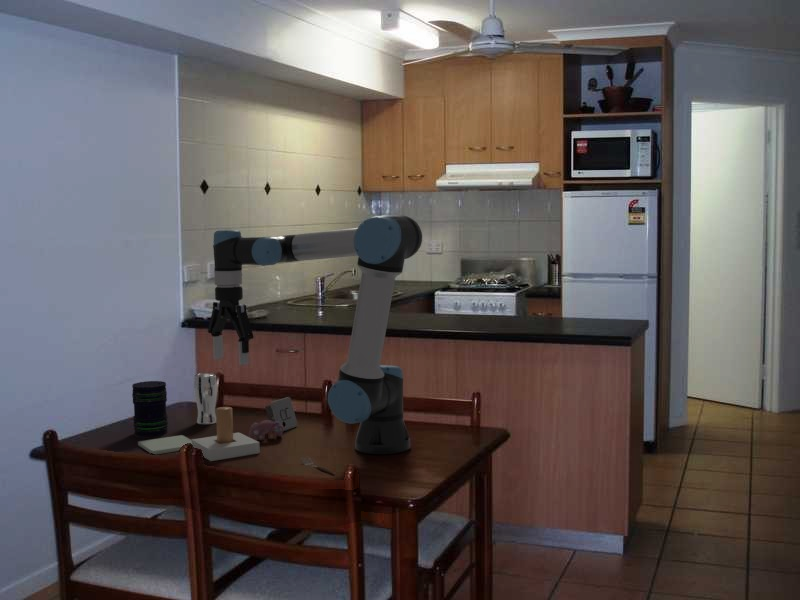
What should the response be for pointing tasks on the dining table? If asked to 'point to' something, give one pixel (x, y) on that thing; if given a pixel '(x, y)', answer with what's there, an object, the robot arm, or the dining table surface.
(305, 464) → the fork
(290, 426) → the electrical switch
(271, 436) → the pink animal figurine
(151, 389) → the storage jar
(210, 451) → the white square flat box
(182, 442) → the mat
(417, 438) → the dining table surface
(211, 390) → the beer glass
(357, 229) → the robot arm
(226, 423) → the plug
